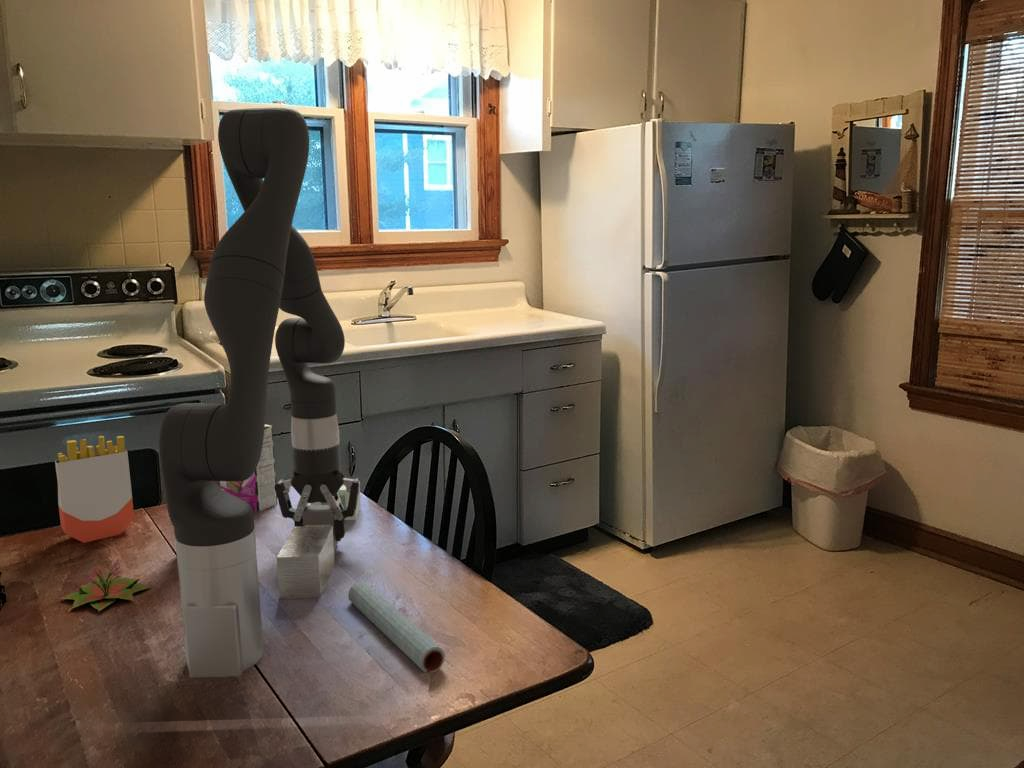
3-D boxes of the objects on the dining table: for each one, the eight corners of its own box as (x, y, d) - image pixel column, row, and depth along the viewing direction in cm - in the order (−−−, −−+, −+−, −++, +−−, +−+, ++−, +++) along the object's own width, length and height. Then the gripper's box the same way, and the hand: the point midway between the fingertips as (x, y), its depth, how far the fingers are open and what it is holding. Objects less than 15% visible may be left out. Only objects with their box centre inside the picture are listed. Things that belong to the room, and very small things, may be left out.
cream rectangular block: (334, 563, 133) (332, 525, 132) (320, 597, 121) (318, 556, 120) (296, 564, 133) (294, 526, 131) (279, 598, 121) (276, 557, 120)
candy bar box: (218, 504, 160) (212, 422, 157) (239, 497, 164) (233, 416, 161) (258, 515, 154) (252, 430, 151) (279, 507, 159) (273, 424, 155)
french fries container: (62, 539, 144) (50, 438, 140) (129, 525, 150) (119, 428, 146) (67, 547, 140) (55, 444, 136) (135, 532, 147) (125, 433, 143)
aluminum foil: (445, 669, 103) (445, 644, 102) (396, 686, 99) (396, 659, 99) (369, 600, 121) (369, 578, 121) (326, 612, 118) (325, 589, 117)
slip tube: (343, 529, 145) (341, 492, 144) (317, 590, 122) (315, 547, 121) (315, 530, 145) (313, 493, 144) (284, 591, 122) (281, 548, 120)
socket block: (360, 511, 156) (359, 479, 155) (356, 523, 150) (354, 489, 149) (317, 512, 156) (316, 480, 154) (311, 524, 150) (309, 490, 148)
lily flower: (43, 604, 121) (39, 575, 120) (115, 573, 131) (112, 546, 130) (97, 623, 115) (93, 592, 114) (168, 589, 125) (165, 560, 125)
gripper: (264, 448, 130) (271, 550, 134) (357, 447, 131) (361, 548, 134) (276, 436, 138) (282, 532, 141) (363, 434, 138) (367, 530, 142)
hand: (321, 539), depth 138 cm, fingers open, 5 cm apart
